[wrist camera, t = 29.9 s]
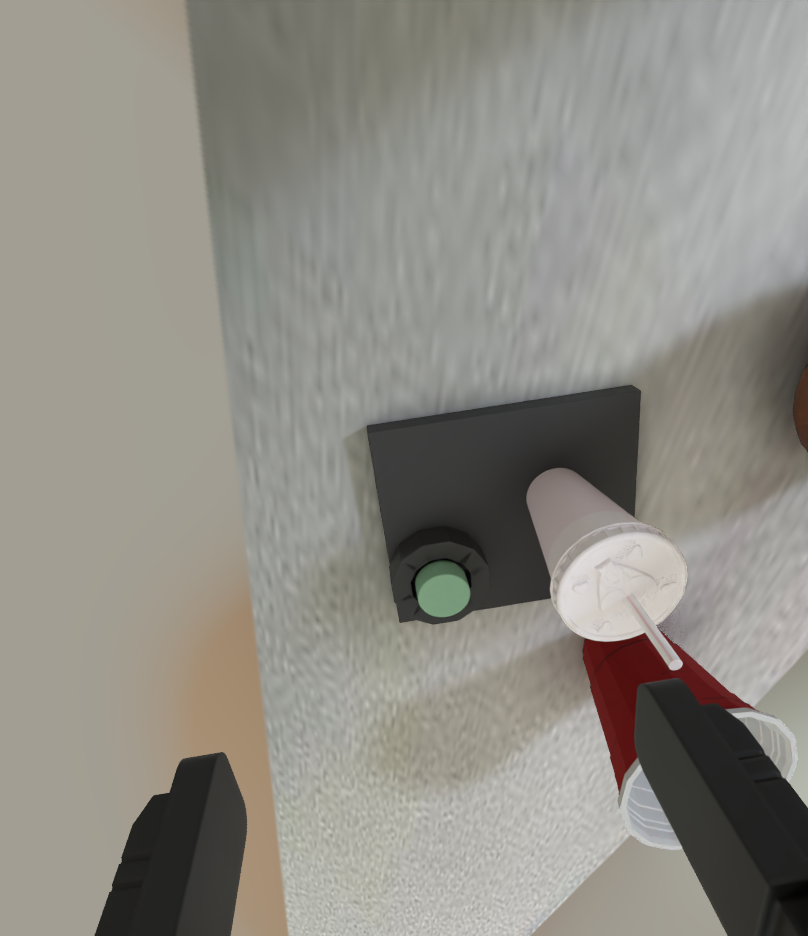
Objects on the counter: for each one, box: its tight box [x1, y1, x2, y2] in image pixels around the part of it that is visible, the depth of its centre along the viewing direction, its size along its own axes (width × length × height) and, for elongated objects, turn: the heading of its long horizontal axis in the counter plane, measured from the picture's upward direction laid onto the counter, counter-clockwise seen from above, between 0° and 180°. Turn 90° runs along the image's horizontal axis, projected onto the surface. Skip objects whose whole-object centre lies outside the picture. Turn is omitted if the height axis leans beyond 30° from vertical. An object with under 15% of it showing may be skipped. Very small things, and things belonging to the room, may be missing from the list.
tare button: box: [415, 560, 470, 617], centre depth 35 cm, size 3×3×2 cm
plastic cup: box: [583, 630, 798, 850], centre depth 38 cm, size 11×11×12 cm
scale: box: [367, 385, 641, 624], centre depth 36 cm, size 14×16×3 cm
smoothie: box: [526, 468, 687, 670], centre depth 29 cm, size 6×6×14 cm
